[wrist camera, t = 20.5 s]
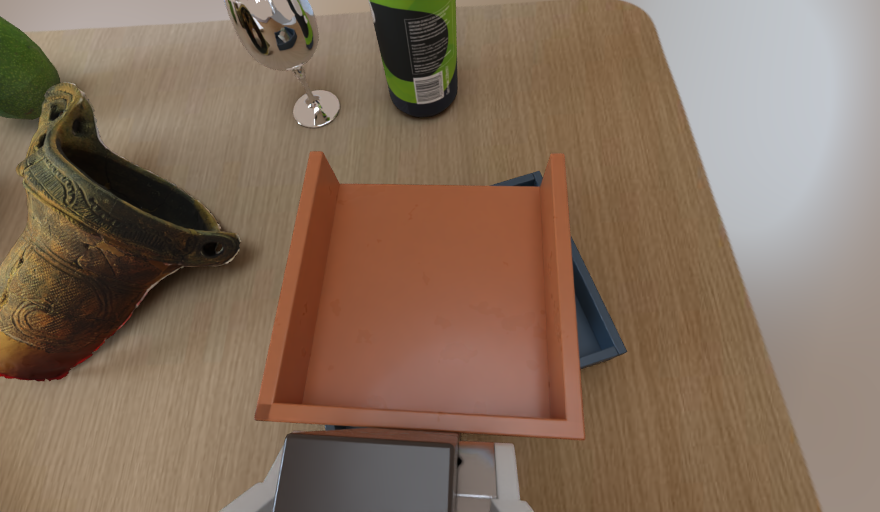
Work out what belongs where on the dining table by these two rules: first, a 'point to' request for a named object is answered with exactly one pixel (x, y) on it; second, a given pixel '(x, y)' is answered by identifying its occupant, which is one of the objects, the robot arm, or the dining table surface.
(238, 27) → the wineglass
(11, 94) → the fruit
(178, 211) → the pot
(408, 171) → the dining table surface
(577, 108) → the dining table surface
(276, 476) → the robot arm
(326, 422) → the pan
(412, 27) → the beverage can
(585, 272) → the tray
